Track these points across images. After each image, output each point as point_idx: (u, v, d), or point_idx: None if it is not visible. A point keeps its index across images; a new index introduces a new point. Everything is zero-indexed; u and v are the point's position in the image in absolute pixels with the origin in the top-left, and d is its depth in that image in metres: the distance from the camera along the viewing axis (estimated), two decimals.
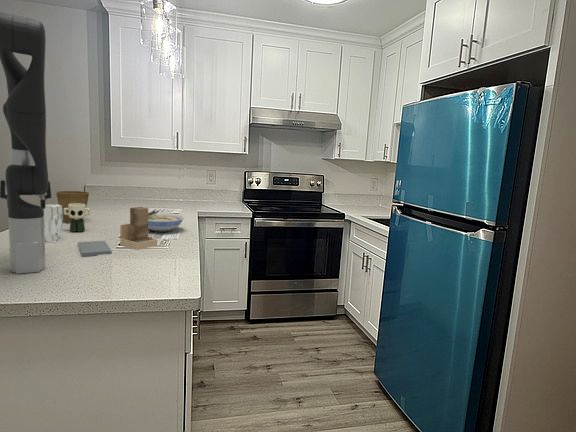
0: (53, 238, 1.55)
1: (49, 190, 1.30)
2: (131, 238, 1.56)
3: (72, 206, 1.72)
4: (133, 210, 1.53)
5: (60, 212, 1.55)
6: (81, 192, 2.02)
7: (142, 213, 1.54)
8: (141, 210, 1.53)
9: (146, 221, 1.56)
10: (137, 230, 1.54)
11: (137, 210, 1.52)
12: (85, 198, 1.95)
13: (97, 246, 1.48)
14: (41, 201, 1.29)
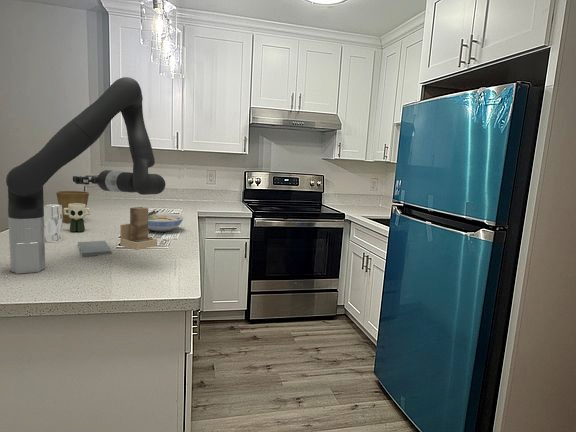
0: (53, 238, 1.55)
1: (81, 177, 1.31)
2: (131, 238, 1.56)
3: (72, 206, 1.72)
4: (133, 210, 1.53)
5: (60, 212, 1.55)
6: (81, 192, 2.02)
7: (142, 213, 1.54)
8: (141, 210, 1.53)
9: (146, 221, 1.56)
10: (137, 230, 1.54)
11: (137, 210, 1.52)
12: (85, 198, 1.95)
13: (97, 246, 1.48)
14: (79, 176, 1.35)
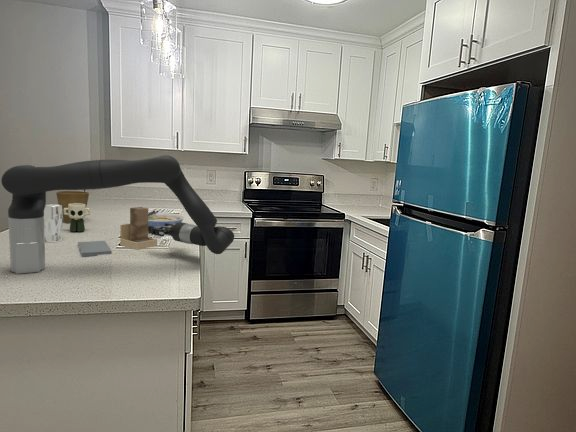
0: (53, 238, 1.55)
1: (157, 228, 1.42)
2: (131, 238, 1.56)
3: (72, 206, 1.72)
4: (133, 210, 1.53)
5: (60, 212, 1.55)
6: (81, 192, 2.02)
7: (142, 213, 1.54)
8: (141, 210, 1.53)
9: (146, 221, 1.56)
10: (137, 230, 1.54)
11: (137, 210, 1.52)
12: (85, 198, 1.95)
13: (97, 246, 1.48)
14: None
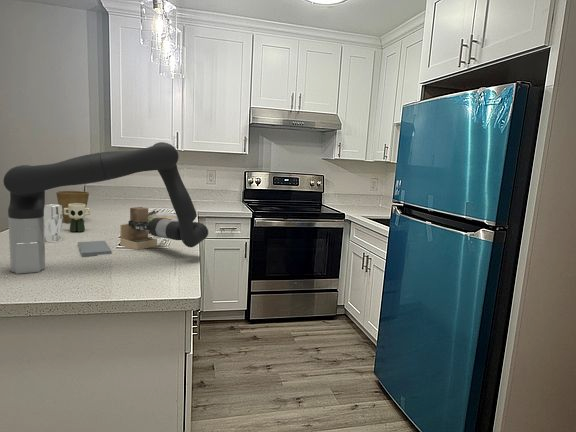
0: (53, 238, 1.55)
1: (135, 223, 1.49)
2: (131, 238, 1.56)
3: (72, 206, 1.72)
4: (133, 210, 1.53)
5: (60, 212, 1.55)
6: (81, 192, 2.02)
7: (142, 213, 1.54)
8: (141, 210, 1.53)
9: None
10: None
11: (137, 210, 1.52)
12: (85, 198, 1.95)
13: (97, 246, 1.48)
14: (134, 221, 1.53)
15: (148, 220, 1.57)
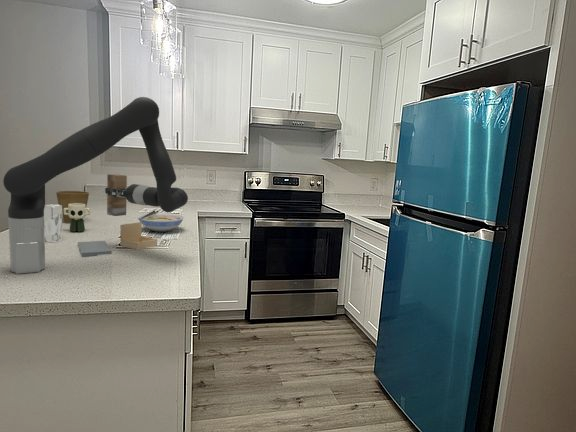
0: (53, 238, 1.55)
1: (111, 189, 1.42)
2: (108, 206, 1.49)
3: (72, 206, 1.72)
4: (110, 177, 1.46)
5: (60, 212, 1.55)
6: (81, 192, 2.02)
7: (120, 180, 1.47)
8: (119, 177, 1.46)
9: None
10: (114, 198, 1.46)
11: (114, 176, 1.45)
12: (85, 198, 1.95)
13: (97, 246, 1.48)
14: (111, 188, 1.46)
15: None
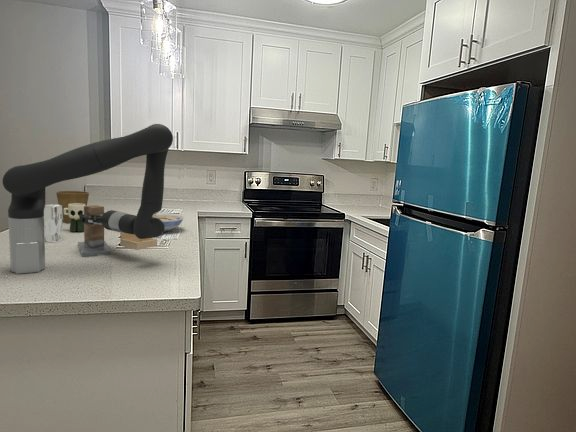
0: (53, 238, 1.55)
1: (86, 216, 1.37)
2: (85, 238, 1.45)
3: (72, 206, 1.72)
4: (87, 208, 1.43)
5: (60, 212, 1.55)
6: (81, 192, 2.02)
7: (97, 212, 1.44)
8: (95, 208, 1.43)
9: None
10: (91, 230, 1.43)
11: (91, 208, 1.42)
12: (85, 198, 1.95)
13: None
14: (85, 215, 1.41)
15: None
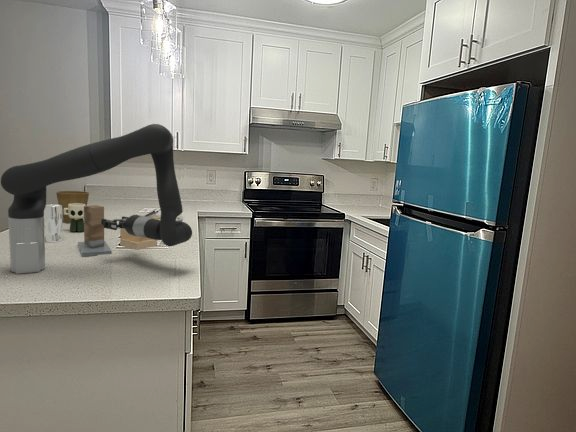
0: (53, 238, 1.55)
1: (109, 221, 1.31)
2: (85, 238, 1.45)
3: (72, 206, 1.72)
4: (87, 208, 1.43)
5: (60, 212, 1.55)
6: (81, 192, 2.02)
7: (97, 212, 1.44)
8: (95, 208, 1.43)
9: None
10: (91, 230, 1.43)
11: (91, 208, 1.42)
12: (85, 198, 1.95)
13: None
14: None
15: None
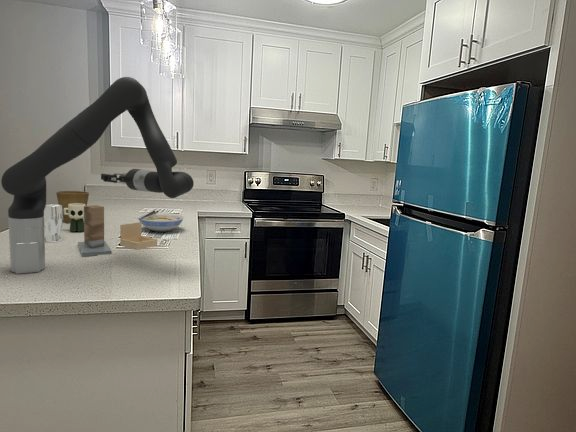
0: (53, 238, 1.55)
1: (109, 174, 1.29)
2: (85, 238, 1.45)
3: (72, 206, 1.72)
4: (87, 208, 1.43)
5: (60, 212, 1.55)
6: (81, 192, 2.02)
7: (97, 212, 1.44)
8: (95, 208, 1.43)
9: (102, 220, 1.46)
10: (91, 230, 1.43)
11: (91, 208, 1.42)
12: (85, 198, 1.95)
13: None
14: None
15: None
